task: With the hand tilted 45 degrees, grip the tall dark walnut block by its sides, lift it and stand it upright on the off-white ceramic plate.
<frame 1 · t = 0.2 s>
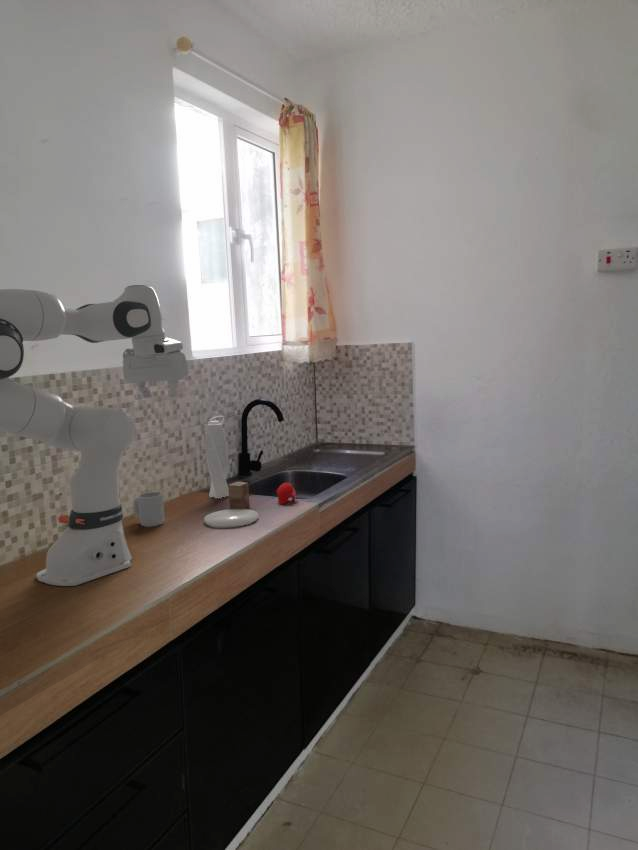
hand: (159, 397, 171), 39 cm above the counter, tool pointing down, fingers open, 8 cm apart
walnut block: (239, 508, 201), on the counter
skyscraper: (220, 496, 218), on the counter
plate: (231, 520, 188), on the counter
cup: (148, 523, 189), on the counter
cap: (286, 502, 207), on the counter
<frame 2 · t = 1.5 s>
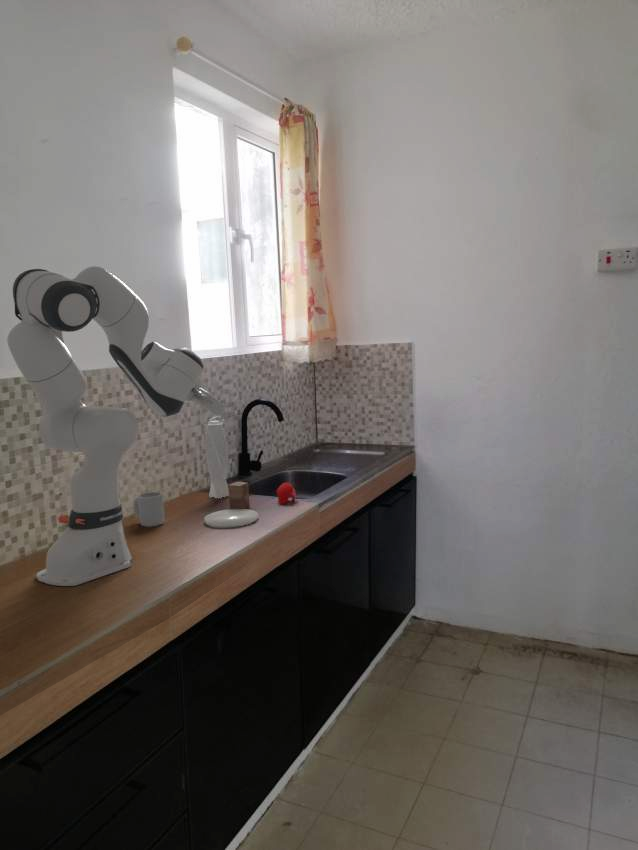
hand: (218, 412, 186), 33 cm above the counter, tool tilted 50°, fingers open, 8 cm apart
nothing on the counter moved.
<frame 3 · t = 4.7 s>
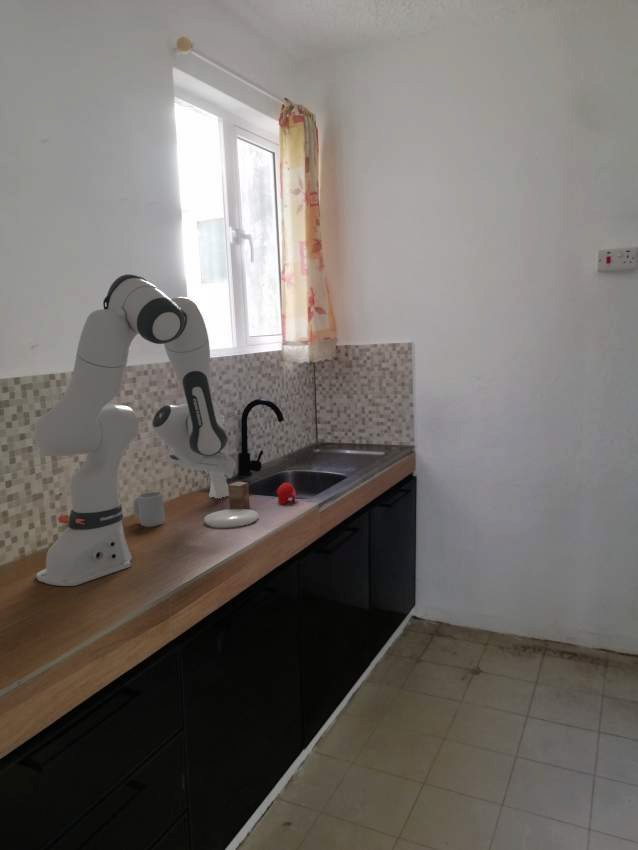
hand: (218, 474, 190), 13 cm above the counter, tool tilted 45°, fingers open, 8 cm apart
nothing on the counter moved.
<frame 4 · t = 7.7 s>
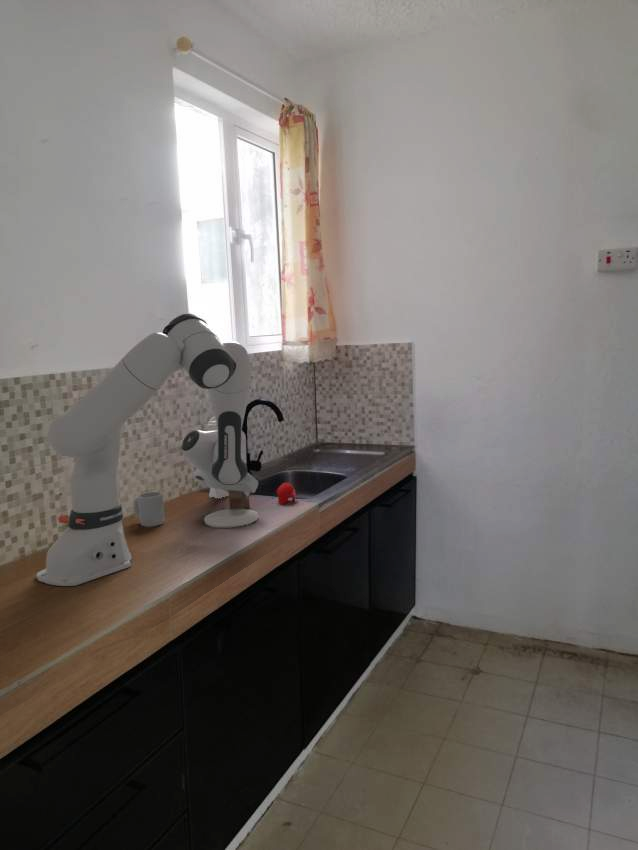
hand: (240, 493, 201), 5 cm above the counter, tool tilted 45°, fingers closed on walnut block, 5 cm apart
walnut block: (239, 507, 201), on the counter, touching gripper
everything else where it was.
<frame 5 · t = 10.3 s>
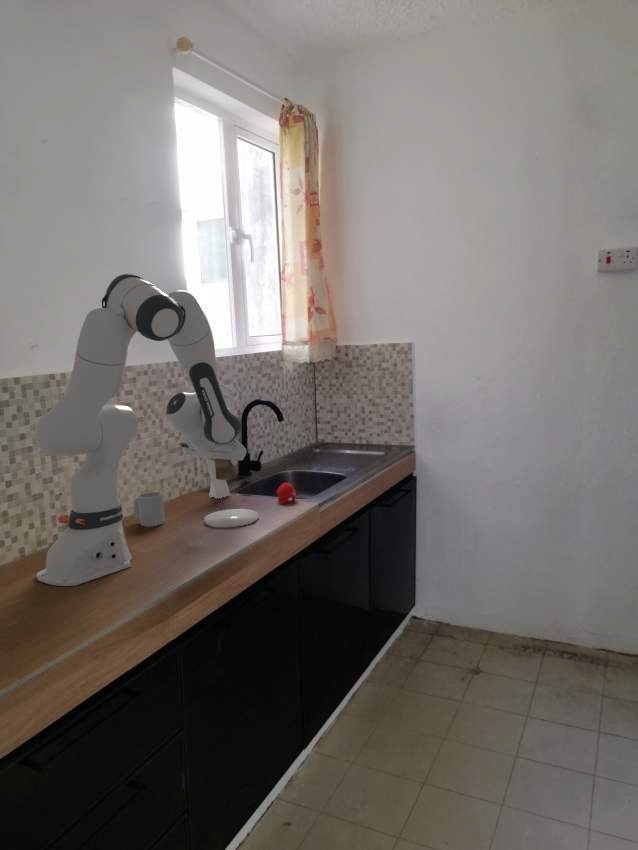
hand: (226, 463, 192), 16 cm above the counter, tool tilted 45°, fingers closed on walnut block, 4 cm apart
walnut block: (226, 478, 193), point 12 cm above the counter, touching gripper
everything else where it was.
when the fingers open (7 cm above the counter, at t = 13.2 s): walnut block drops 1 cm, resting on plate.
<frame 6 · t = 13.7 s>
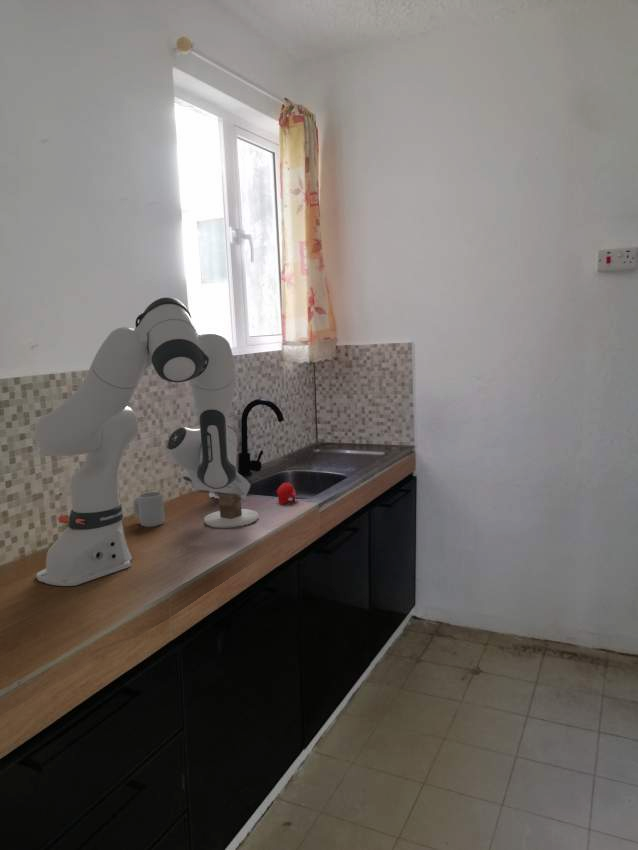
hand: (231, 496, 188), 7 cm above the counter, tool tilted 45°, fingers open, 8 cm apart
walnut block: (231, 516, 188), point 1 cm above the counter, touching plate
everything else where it was.
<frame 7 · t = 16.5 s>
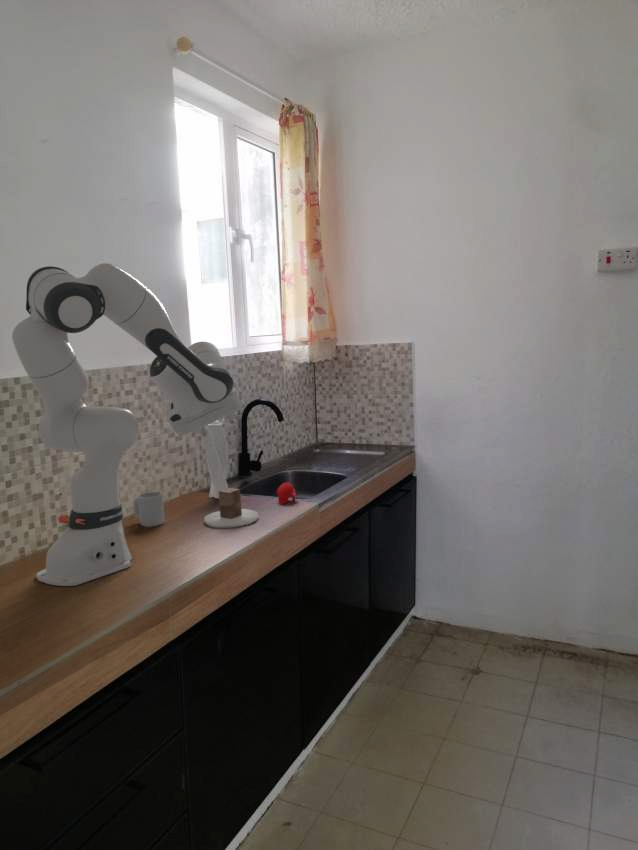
hand: (219, 428, 179), 29 cm above the counter, tool tilted 50°, fingers open, 8 cm apart
nothing on the counter moved.
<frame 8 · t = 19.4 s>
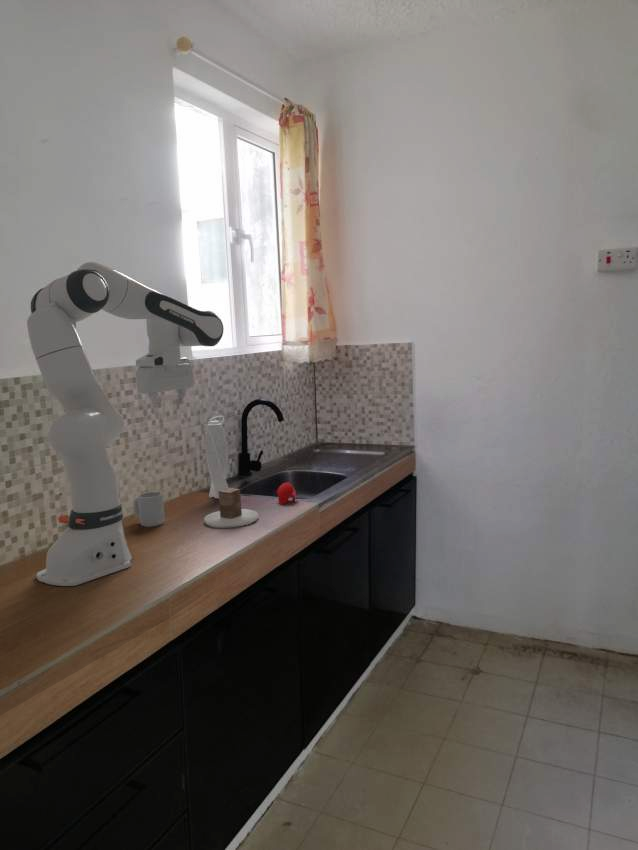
hand: (168, 406, 184), 35 cm above the counter, tool pointing down, fingers open, 8 cm apart
nothing on the counter moved.
at the end: walnut block inside the target area on the plate (0.1 cm from its centre), point 1.2 cm above the plate's base; walnut block tilted 0°; the gripper is holding nothing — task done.
